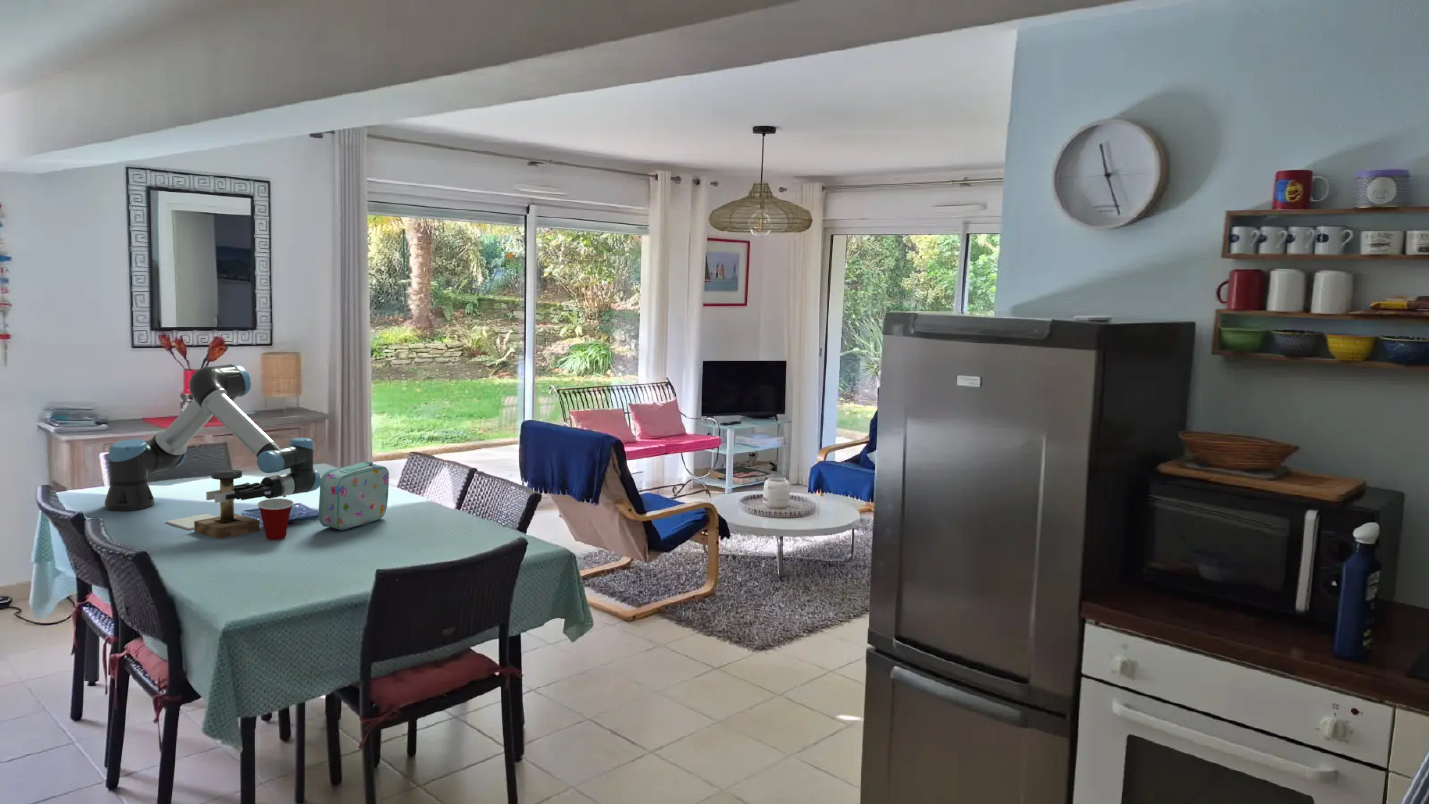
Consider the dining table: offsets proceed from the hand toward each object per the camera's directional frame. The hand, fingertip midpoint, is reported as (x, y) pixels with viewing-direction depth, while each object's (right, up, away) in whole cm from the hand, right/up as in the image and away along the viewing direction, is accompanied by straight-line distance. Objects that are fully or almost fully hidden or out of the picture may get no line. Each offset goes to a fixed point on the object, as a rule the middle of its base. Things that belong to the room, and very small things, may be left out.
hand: (211, 497), depth 311 cm
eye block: (+2, -12, +6) cm, 13 cm away
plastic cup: (+21, -14, 0) cm, 25 cm away
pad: (-12, -10, +15) cm, 22 cm away
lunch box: (+38, -12, +23) cm, 46 cm away
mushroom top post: (+2, -9, +6) cm, 11 cm away
